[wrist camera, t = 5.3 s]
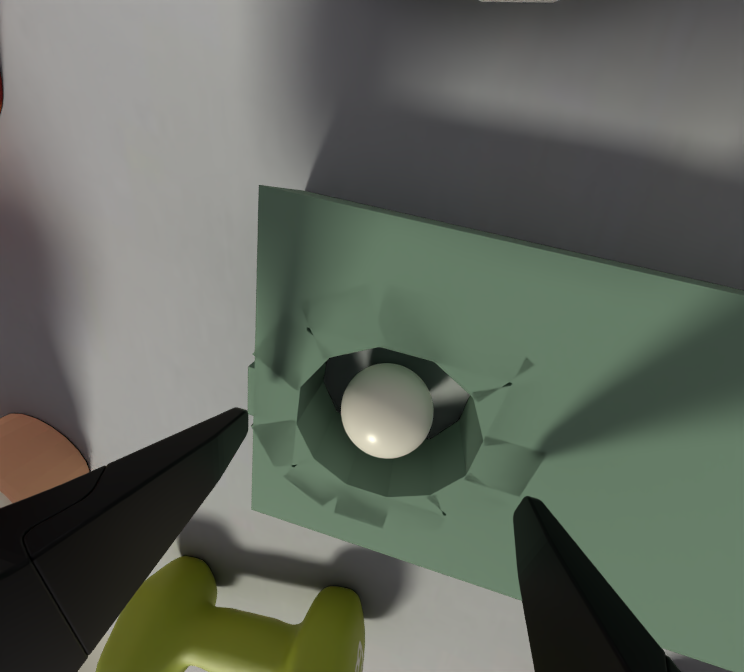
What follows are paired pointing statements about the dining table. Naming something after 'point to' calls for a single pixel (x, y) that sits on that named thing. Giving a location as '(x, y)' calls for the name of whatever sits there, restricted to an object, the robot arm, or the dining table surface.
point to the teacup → (535, 0)
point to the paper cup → (1, 93)
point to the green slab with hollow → (510, 408)
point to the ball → (387, 410)
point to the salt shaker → (34, 458)
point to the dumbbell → (229, 630)
